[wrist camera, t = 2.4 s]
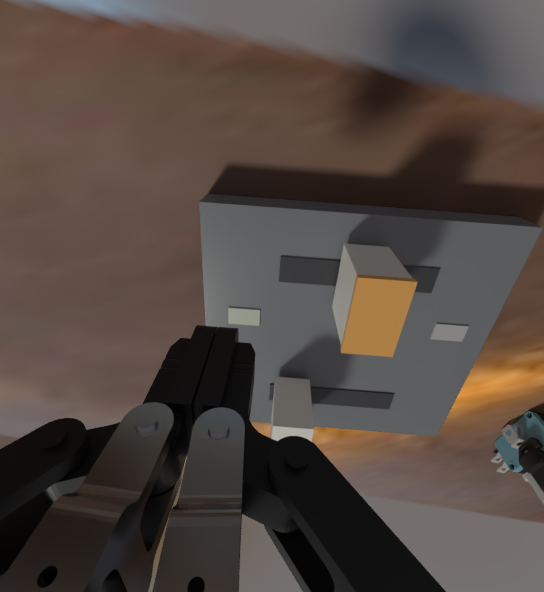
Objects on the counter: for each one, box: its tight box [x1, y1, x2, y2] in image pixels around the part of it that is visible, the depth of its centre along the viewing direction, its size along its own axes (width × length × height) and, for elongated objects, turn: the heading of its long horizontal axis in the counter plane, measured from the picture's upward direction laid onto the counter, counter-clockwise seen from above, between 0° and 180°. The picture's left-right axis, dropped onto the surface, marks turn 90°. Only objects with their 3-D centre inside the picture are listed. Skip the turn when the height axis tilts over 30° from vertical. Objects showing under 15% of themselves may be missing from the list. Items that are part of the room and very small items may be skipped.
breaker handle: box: [332, 244, 418, 357], centre depth 16 cm, size 2×4×4 cm, turn 176°
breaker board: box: [199, 194, 543, 441], centre depth 20 cm, size 18×17×6 cm
